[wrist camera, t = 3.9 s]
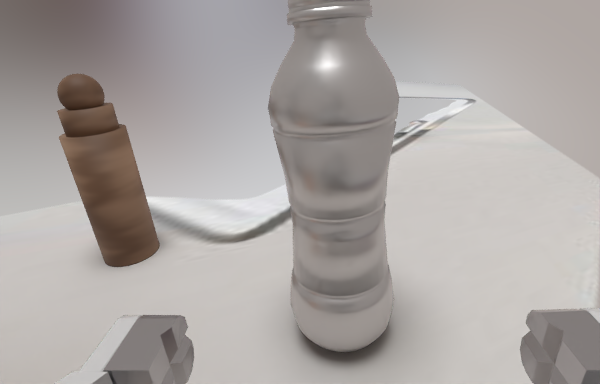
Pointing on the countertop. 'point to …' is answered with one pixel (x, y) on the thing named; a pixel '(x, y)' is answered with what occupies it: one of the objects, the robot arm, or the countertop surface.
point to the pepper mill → (105, 173)
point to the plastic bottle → (336, 171)
